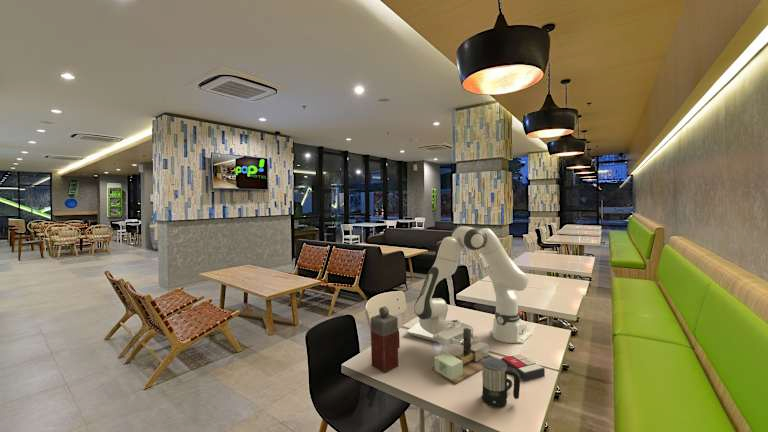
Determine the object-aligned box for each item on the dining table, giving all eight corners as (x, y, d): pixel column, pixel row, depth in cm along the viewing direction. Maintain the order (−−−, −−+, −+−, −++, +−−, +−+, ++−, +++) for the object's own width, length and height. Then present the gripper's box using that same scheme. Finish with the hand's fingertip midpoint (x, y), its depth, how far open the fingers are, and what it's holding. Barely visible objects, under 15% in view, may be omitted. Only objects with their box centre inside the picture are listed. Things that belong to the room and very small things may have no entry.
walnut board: (474, 349, 165) (474, 348, 165) (498, 361, 154) (498, 359, 154) (431, 370, 147) (431, 368, 147) (455, 384, 136) (455, 382, 136)
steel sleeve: (479, 351, 161) (479, 341, 161) (489, 356, 156) (489, 345, 156) (466, 358, 155) (466, 347, 155) (476, 363, 150) (476, 352, 150)
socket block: (445, 364, 150) (445, 352, 149) (462, 374, 142) (462, 361, 141) (434, 370, 146) (434, 357, 145) (451, 380, 138) (451, 366, 137)
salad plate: (456, 331, 188) (456, 325, 188) (442, 346, 170) (442, 339, 170) (422, 323, 200) (422, 318, 199) (406, 337, 182) (406, 331, 181)
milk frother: (485, 408, 121) (485, 370, 120) (473, 383, 137) (473, 349, 136) (523, 407, 121) (524, 369, 120) (507, 382, 137) (508, 348, 136)
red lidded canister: (402, 364, 153) (401, 305, 151) (384, 373, 145) (383, 312, 143) (388, 357, 159) (387, 301, 157) (371, 365, 152) (370, 307, 150)
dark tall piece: (480, 350, 159) (480, 321, 158) (486, 353, 157) (486, 323, 156) (455, 362, 149) (455, 331, 148) (461, 365, 146) (461, 333, 145)
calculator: (519, 352, 155) (545, 366, 141) (520, 361, 155) (545, 376, 141) (500, 356, 151) (524, 371, 137) (500, 366, 152) (524, 382, 137)
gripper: (430, 329, 154) (453, 340, 143) (459, 318, 166) (482, 327, 155) (430, 342, 155) (453, 354, 144) (459, 331, 167) (482, 340, 156)
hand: (468, 340), depth 150 cm, fingers open, 8 cm apart
